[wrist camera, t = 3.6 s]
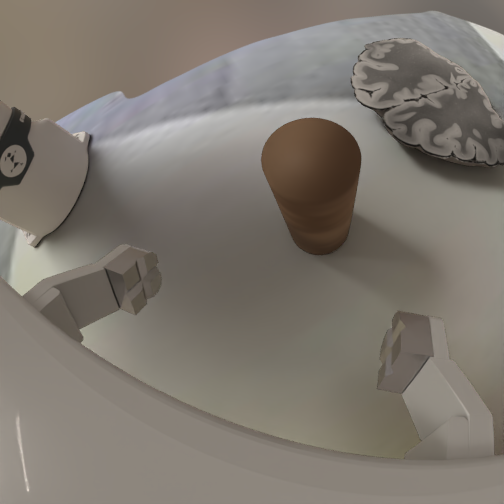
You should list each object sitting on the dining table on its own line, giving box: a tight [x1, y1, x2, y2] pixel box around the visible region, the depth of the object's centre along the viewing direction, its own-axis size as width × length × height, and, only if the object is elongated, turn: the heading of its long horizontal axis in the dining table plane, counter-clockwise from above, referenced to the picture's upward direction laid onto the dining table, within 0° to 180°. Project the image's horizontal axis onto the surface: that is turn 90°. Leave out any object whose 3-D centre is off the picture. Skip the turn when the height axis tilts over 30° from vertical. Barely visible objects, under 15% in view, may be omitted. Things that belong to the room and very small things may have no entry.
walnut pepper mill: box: [261, 118, 361, 255], centre depth 17 cm, size 5×5×10 cm
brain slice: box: [351, 38, 504, 168], centre depth 20 cm, size 20×17×3 cm
